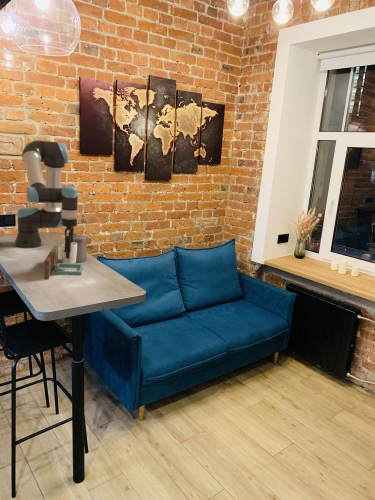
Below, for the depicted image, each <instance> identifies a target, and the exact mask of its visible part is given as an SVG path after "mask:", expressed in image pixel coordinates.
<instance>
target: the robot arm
mask: <svg viewBox="0 0 375 500" xmlns="http://www.w3.org/2000/svg"><path fill="white" fill-rule="evenodd" d="M21 158H22V159H21V160H22V162H24V164H25V169H26V174H27V175H26V176H27V180H28V185H29V186H28V187H27V188H26V190H25V193H26V201H27V202H28V203H34V204H35V203H36V204H37V203H38V204H39V203H41V204H43V205H42V207H41V209H39V208H38V207H37V206H26V207H21V208H19V209H18V210H17V216H16V217H17V234H16V236H15V240H14V246H15V247H18V248H24V249H25V248H26V249H27V248H28V249H29V248H37V247H41V246H42V244H43V243H42V239H41V235H40V233H39V229H59V228H62V227H65V229H64V242H65V250H64V252H65V264H71V243H72V242H73V235H74V233H75V228H74V227H77V226H78V219H77V218H78V214H79V212H80V211H78V203H79V201H78V200H79V199H78V196H79V193H78V188H77V187H76V186H72V185H69V186H68V185H65V186H64V185H63V186H62V173H63V172H62V171H63V169H64V168H65V167H66V166H65V165H66V164H68V163H69V152H68V148H67V145H66V144H65V143H64V142H59V141H47V140H37V139H36V140H33V141H30V142H29V143H27V144H26V145H25V146H24V148H23V150H22V153H21ZM42 163H43V166H44V167H45V171H46V172H45V178H44V173H43V169H42ZM61 186H62V187H61Z"/></svg>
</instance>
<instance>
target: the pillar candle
mask: <svg viewBox="0 0 375 500" xmlns="http://www.w3.org/2000/svg"><path fill="white" fill-rule="evenodd" d="M73 242H76V243H77V255H76V263H75V264H80V263H84V262H86V261H87V236H86V235H83V234H73Z"/></svg>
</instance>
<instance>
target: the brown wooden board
mask: <svg viewBox="0 0 375 500" xmlns="http://www.w3.org/2000/svg"><path fill="white" fill-rule="evenodd" d="M43 263H44V264H43V267H44V268H43V270H44V271H43V273H44V274H43V275H44V276H43V277H44V278H43V279H44V280H49V279H50V278H49V277H51V276H52V274H53V271H54V269H55V267H56V265H57V263H59V247H58V245H54V246H53V247H52V248H51V249H50V252H49V253H48V255H47V256H46V258H45V259H44V262H43Z"/></svg>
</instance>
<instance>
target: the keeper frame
mask: <svg viewBox="0 0 375 500" xmlns="http://www.w3.org/2000/svg"><path fill="white" fill-rule="evenodd" d="M59 268H79V269H78V271H76V270H59ZM83 270H84V263H73V264H64V263H61V262H60V263H59V262H58V263H57V264H56V266H55V268H54V270H53V272H52V274H53V275H65V274H68V275H70V276H71V275H73V276H75V275H76V276H81V275H82V272H83Z"/></svg>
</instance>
